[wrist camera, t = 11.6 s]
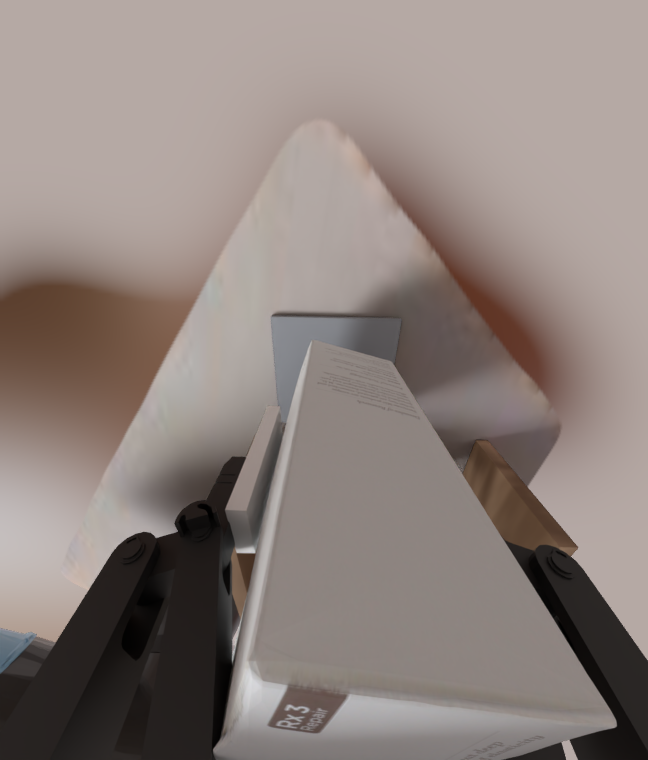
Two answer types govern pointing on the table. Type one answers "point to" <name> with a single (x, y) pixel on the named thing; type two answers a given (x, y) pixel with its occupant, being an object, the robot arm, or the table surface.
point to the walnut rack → (495, 493)
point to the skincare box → (389, 597)
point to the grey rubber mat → (339, 331)
